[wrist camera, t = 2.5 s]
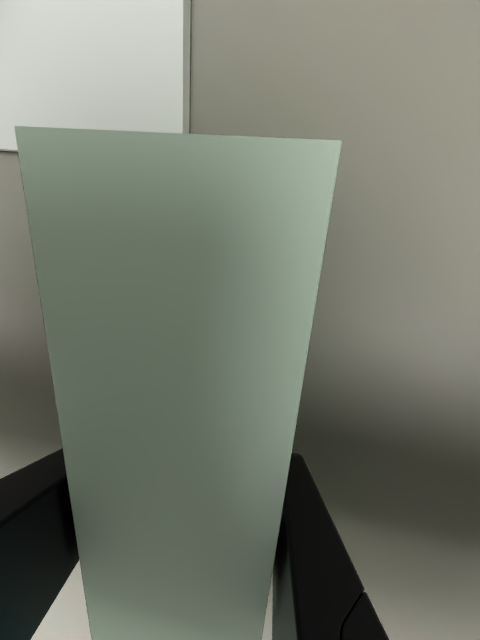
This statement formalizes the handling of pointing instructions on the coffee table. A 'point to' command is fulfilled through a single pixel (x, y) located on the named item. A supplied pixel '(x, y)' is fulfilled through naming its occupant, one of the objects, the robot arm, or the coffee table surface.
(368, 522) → the coffee table surface
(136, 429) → the lintel
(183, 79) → the mat
